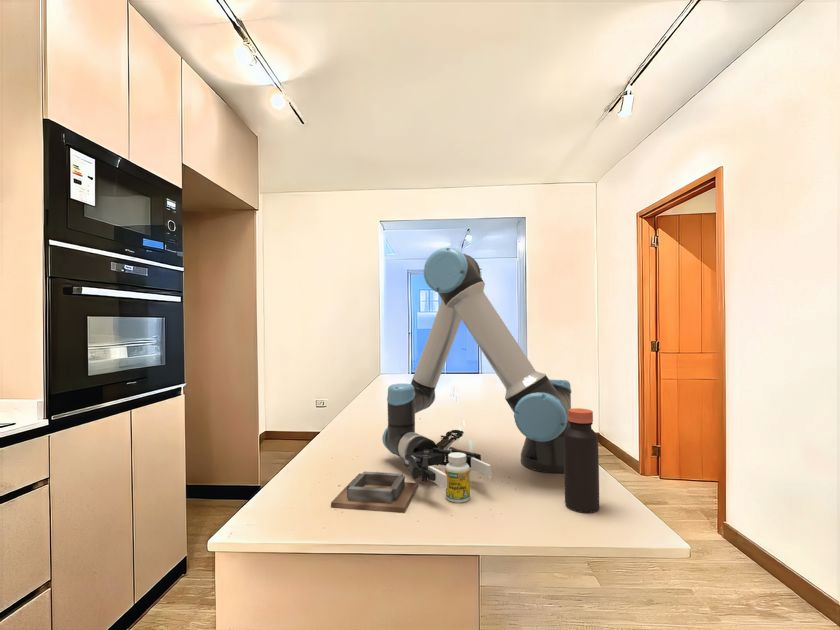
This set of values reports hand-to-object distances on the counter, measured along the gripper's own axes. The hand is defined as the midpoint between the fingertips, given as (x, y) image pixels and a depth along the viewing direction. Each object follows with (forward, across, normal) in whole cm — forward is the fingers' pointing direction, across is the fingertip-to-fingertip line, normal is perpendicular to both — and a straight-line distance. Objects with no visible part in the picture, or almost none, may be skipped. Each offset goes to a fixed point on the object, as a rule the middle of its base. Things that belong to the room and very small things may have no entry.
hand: (468, 476), depth 93 cm
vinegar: (+13, -20, -6) cm, 24 cm away
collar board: (-14, +15, -6) cm, 21 cm away
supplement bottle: (-4, 0, -6) cm, 7 cm away
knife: (-44, -23, -7) cm, 50 cm away
